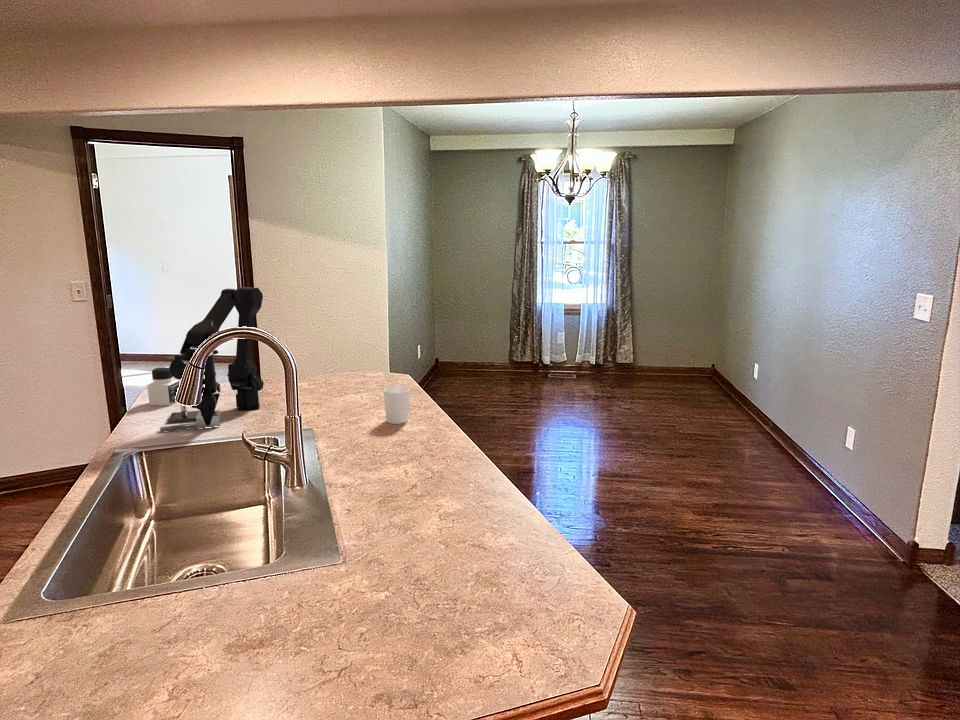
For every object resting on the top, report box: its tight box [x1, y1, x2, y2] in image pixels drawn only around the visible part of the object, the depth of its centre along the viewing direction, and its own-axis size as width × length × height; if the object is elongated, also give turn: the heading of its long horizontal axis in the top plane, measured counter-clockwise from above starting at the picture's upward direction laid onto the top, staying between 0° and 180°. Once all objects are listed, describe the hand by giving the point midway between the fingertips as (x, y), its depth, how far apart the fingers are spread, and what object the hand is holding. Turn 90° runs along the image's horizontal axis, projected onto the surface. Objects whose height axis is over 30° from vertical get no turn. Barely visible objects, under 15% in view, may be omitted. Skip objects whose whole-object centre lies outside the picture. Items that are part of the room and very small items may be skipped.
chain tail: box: [159, 422, 195, 433], centre depth 176 cm, size 9×2×1 cm, turn 116°
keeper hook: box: [167, 405, 200, 424], centre depth 186 cm, size 8×8×5 cm
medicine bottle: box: [146, 366, 180, 407], centre depth 202 cm, size 7×7×12 cm
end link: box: [195, 409, 222, 429], centre depth 180 cm, size 6×6×4 cm
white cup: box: [383, 385, 410, 425], centre depth 185 cm, size 8×8×10 cm
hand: (209, 422), depth 180 cm, fingers closed on end link, 6 cm apart
